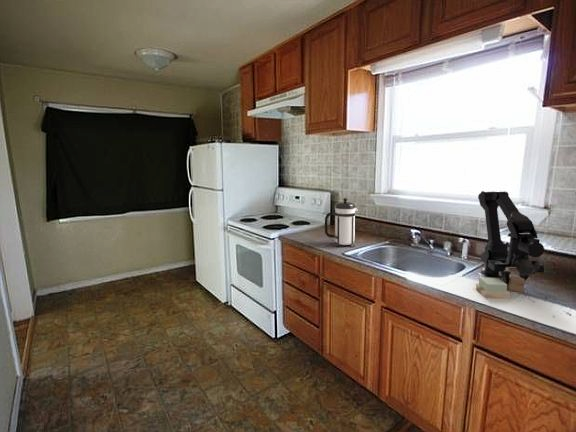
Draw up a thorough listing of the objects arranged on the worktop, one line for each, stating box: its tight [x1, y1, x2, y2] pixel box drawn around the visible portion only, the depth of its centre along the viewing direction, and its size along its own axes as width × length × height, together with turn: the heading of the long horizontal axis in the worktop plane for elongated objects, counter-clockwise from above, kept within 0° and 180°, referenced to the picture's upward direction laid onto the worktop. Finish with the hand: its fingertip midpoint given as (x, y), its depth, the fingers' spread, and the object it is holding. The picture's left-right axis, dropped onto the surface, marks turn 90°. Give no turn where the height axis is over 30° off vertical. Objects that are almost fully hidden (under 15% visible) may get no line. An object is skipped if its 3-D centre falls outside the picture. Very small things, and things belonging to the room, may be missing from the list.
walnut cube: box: [507, 274, 526, 292], centre depth 130 cm, size 5×5×5 cm
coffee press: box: [324, 197, 359, 248], centre depth 198 cm, size 17×16×30 cm
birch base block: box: [475, 282, 511, 300], centre depth 126 cm, size 8×8×3 cm
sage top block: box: [478, 277, 508, 292], centre depth 125 cm, size 7×7×3 cm
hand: (513, 286), depth 131 cm, fingers closed on walnut cube, 5 cm apart
